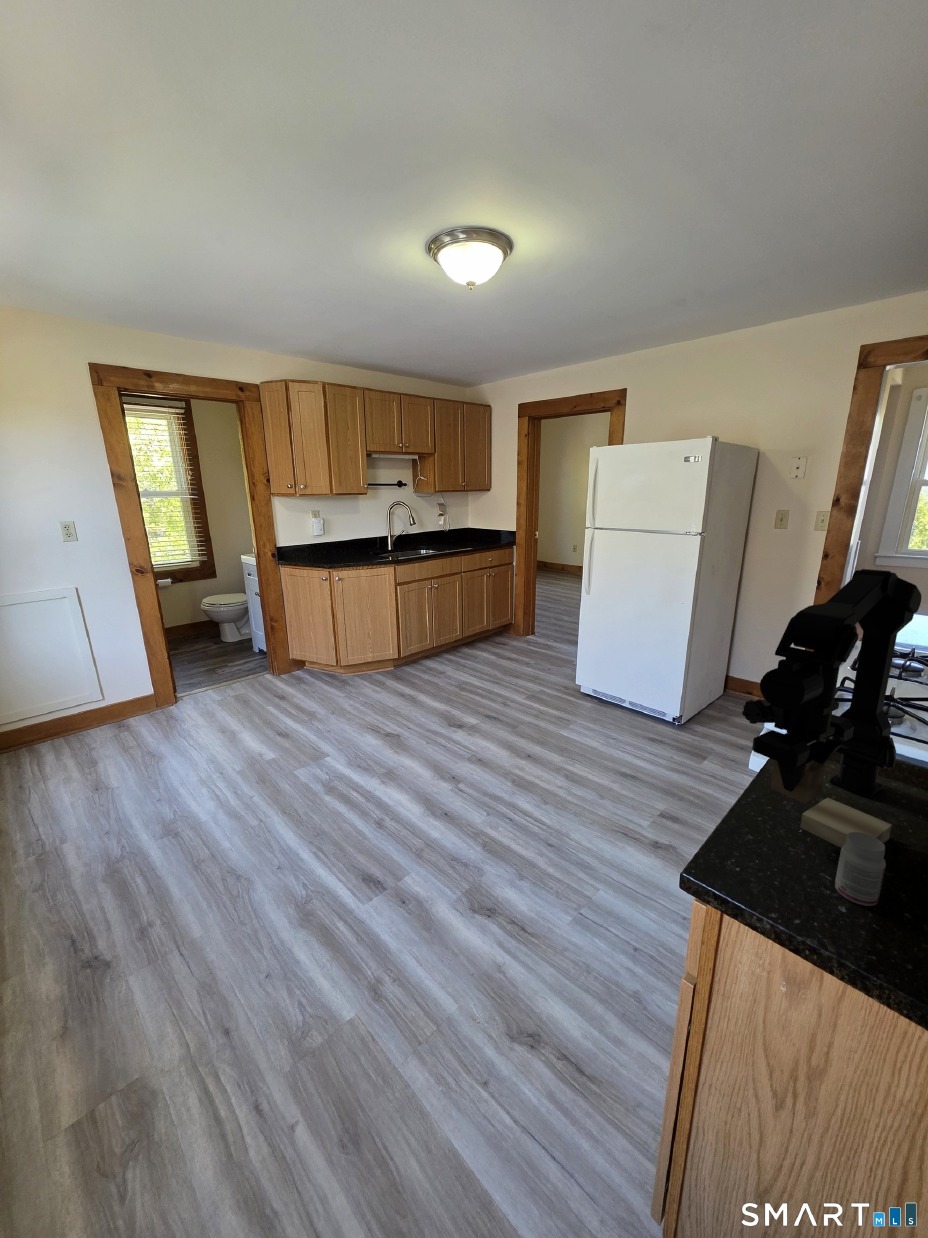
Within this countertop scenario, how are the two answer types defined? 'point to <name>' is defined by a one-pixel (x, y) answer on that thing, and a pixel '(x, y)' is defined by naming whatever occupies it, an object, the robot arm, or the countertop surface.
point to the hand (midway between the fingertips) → (796, 785)
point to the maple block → (842, 822)
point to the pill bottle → (861, 869)
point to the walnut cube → (801, 783)
